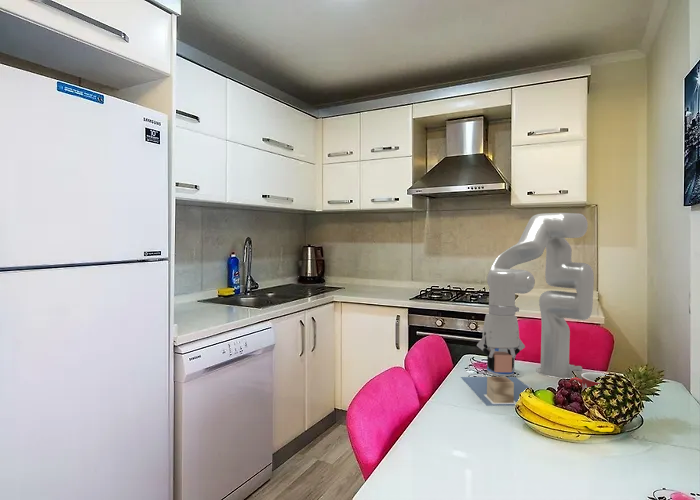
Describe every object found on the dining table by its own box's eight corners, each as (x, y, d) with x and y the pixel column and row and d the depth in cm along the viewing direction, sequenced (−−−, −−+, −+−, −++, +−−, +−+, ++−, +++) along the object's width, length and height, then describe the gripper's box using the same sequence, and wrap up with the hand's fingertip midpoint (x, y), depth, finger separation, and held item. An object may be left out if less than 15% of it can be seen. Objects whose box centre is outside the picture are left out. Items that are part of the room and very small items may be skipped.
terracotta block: (505, 367, 132) (505, 351, 132) (511, 372, 127) (512, 355, 127) (489, 367, 132) (489, 351, 132) (495, 372, 127) (495, 355, 127)
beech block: (505, 395, 133) (505, 376, 133) (513, 402, 127) (513, 383, 127) (486, 395, 133) (487, 376, 132) (493, 402, 127) (494, 383, 126)
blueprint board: (515, 379, 151) (515, 376, 151) (552, 408, 125) (552, 405, 125) (460, 379, 150) (460, 376, 150) (486, 408, 124) (486, 405, 124)
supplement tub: (486, 376, 154) (487, 337, 154) (487, 369, 163) (488, 331, 163) (514, 380, 151) (515, 339, 151) (514, 372, 160) (514, 334, 160)
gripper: (523, 309, 133) (522, 366, 133) (470, 308, 132) (469, 365, 133) (534, 313, 126) (533, 373, 126) (478, 312, 125) (477, 373, 125)
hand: (500, 369), depth 129 cm, fingers closed on terracotta block, 4 cm apart
